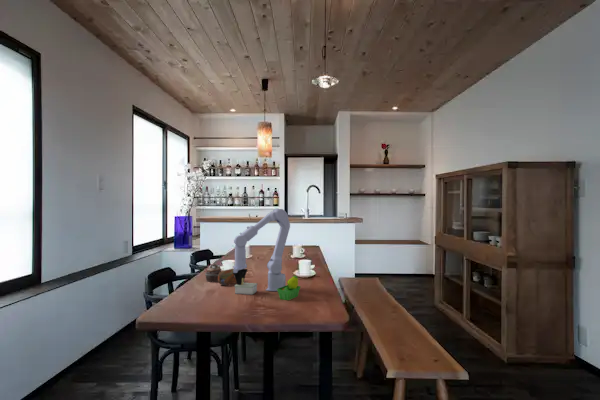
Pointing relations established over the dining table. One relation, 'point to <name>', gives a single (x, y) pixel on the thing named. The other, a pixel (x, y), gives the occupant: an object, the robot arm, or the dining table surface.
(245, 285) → the lid
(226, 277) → the tin
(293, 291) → the fruit basket
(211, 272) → the cupcake
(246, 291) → the tub
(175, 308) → the dining table surface
